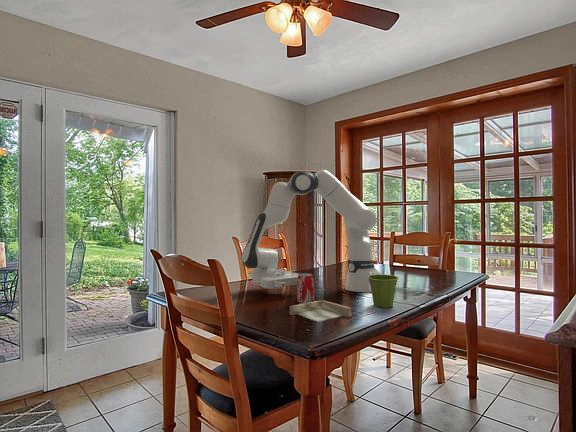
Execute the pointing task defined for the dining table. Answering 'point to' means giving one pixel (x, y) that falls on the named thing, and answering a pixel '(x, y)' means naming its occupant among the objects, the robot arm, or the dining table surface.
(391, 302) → the plant pot
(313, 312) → the wooden stand
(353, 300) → the dining table surface
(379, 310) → the dining table surface
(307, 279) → the soda can
